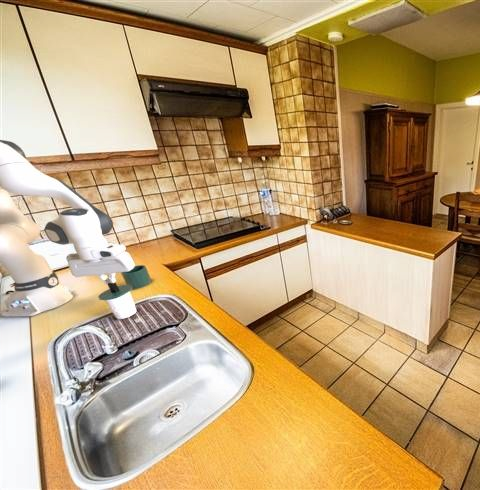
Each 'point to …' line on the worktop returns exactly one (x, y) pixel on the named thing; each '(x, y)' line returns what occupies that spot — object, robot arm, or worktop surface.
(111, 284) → the lid
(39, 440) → the worktop surface
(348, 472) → the worktop surface
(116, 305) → the white cup
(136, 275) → the pot
